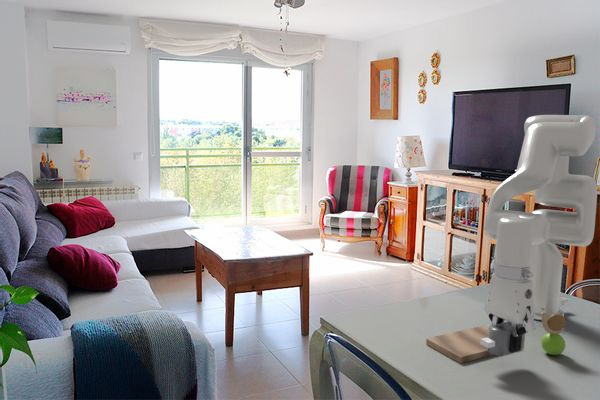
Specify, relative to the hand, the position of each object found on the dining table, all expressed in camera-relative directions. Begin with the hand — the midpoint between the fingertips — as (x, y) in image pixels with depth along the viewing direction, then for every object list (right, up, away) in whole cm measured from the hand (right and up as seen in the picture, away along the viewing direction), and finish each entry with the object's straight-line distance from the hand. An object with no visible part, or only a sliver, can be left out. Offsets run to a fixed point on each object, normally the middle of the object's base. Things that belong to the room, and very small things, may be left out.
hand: (506, 346), depth 122 cm
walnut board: (-4, -3, +12) cm, 13 cm away
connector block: (0, -1, 0) cm, 1 cm away
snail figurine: (+14, -4, +8) cm, 17 cm away
